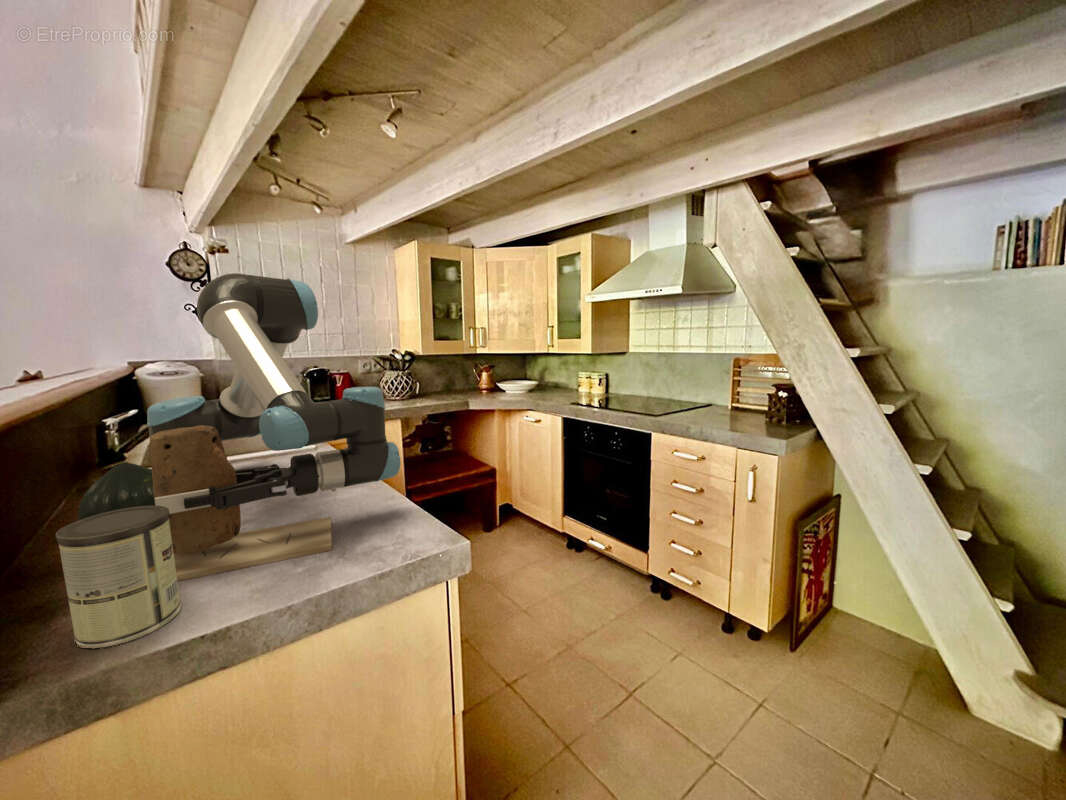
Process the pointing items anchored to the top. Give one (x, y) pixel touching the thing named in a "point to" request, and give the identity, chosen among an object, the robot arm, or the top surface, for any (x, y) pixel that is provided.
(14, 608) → the top surface
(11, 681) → the top surface
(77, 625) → the coffee can
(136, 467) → the squash
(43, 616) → the top surface
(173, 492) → the block
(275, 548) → the board
